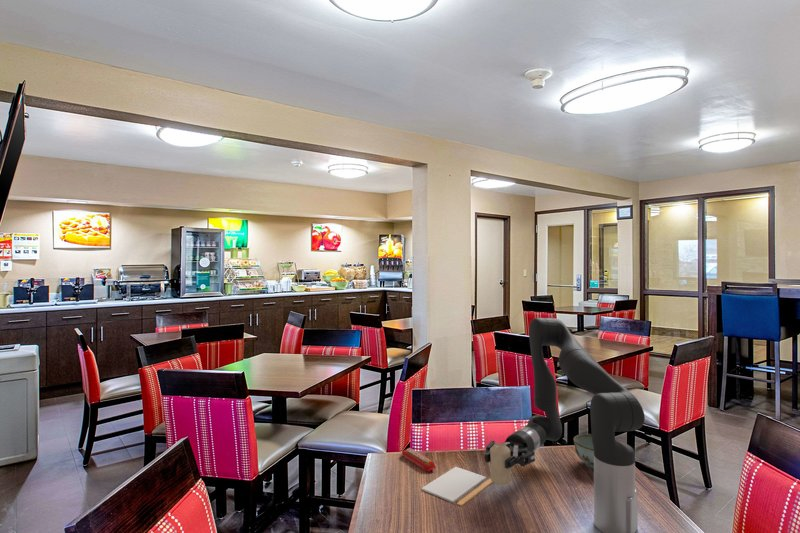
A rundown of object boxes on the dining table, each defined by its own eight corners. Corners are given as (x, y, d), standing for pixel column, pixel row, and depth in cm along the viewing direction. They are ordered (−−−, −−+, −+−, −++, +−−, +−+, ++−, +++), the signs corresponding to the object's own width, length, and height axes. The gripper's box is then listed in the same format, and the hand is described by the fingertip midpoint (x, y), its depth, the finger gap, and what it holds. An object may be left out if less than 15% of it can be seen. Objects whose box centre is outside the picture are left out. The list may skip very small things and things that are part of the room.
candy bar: (400, 456, 153) (400, 447, 153) (408, 454, 155) (408, 445, 155) (428, 474, 140) (428, 465, 140) (437, 471, 142) (437, 462, 142)
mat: (486, 478, 136) (486, 476, 136) (453, 502, 123) (453, 501, 123) (455, 468, 144) (455, 466, 144) (421, 489, 130) (421, 488, 130)
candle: (511, 486, 121) (510, 449, 121) (490, 484, 122) (490, 447, 122) (510, 476, 126) (510, 441, 126) (490, 475, 127) (490, 440, 127)
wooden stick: (494, 481, 135) (494, 480, 135) (461, 506, 121) (461, 504, 121) (489, 479, 136) (489, 478, 136) (457, 504, 122) (457, 502, 122)
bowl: (565, 465, 145) (565, 440, 145) (585, 453, 154) (584, 430, 154) (607, 480, 135) (607, 454, 135) (626, 467, 144) (626, 442, 144)
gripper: (501, 425, 140) (473, 441, 127) (546, 436, 130) (520, 454, 118) (501, 449, 140) (473, 468, 127) (546, 461, 130) (520, 483, 117)
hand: (496, 461), depth 122 cm, fingers closed on candle, 5 cm apart
